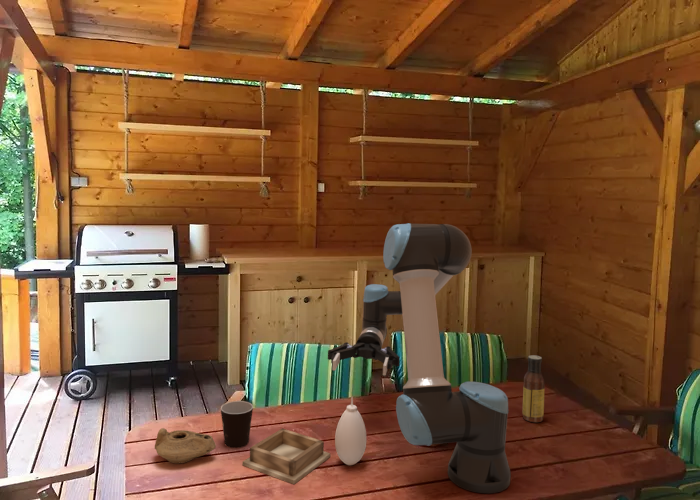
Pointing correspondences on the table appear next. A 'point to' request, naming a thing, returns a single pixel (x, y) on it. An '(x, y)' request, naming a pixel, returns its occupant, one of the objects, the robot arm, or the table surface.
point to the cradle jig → (287, 455)
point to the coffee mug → (236, 423)
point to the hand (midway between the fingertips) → (359, 368)
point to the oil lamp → (182, 445)
